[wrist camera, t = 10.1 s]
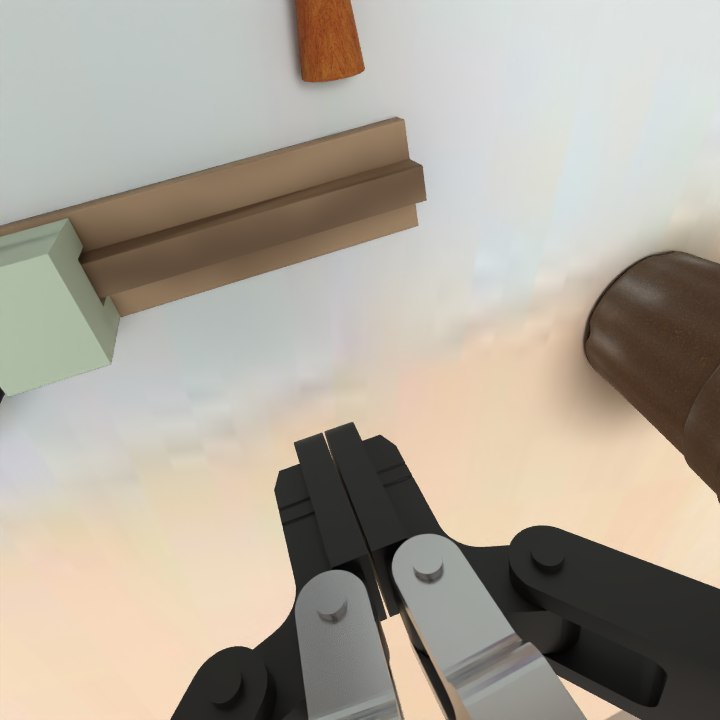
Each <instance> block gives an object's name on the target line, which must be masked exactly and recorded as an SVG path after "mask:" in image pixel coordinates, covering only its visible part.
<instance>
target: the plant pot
mask: <svg viewBox="0 0 720 720" xmlns="http://www.w3.org/2000/svg"><path fill="white" fill-rule="evenodd" d="M589 323H590V335H589V338H588V340H587V341H586V342H585V348H586V354H587V358H588V360H589V362H590V363H591V365H592V367H593V368H594V369H595V370H596V371H597V372H598V373H599V374H600V375H601V376H602V377H603V378H604V379H605V380H606V381H608V382H609V383H610V384H611V385H612V386H613V387H614V388H615V389H616V390H617V391H618V392H619V393H620V394H621V395H623V396H624V397H625V398H626V399H627V400H628V401H629V402H630V403H631V404H632V405H633V406H634V407H635V408H636V409H637V410H638V411H639V412H640V413H641V414H642V415H643V416H644V417H645V418H646V419H647V420H648V421H649V422H650V423H651V424H652V425H653V426H654V427H655V428H656V429H657V430H658V431H659V432H660V433H661V434H662V435H663V436H664V437H665V438H666V439H667V440H668V441H669V442H671V443H672V444H673V445H674V446H675V447H676V448H677V449H678V450H679V451H680V452H681V453H682V454H683V455H684V457H685V460H686V462H687V464H688V465H689V467H690V468H691V469H692V470H693V471H694V472H695V473H696V474H697V475H698V476H699V477H700V478H701V479H702V480H703V481H704V482H705V483H706V484H707V485H708V486H709V487H710V488H711V489H712V490H713V491H714V492H715V493H716V494H717V498H718V501H719V503H720V264H718V263H715V262H712V261H709V260H706V259H703V258H700V257H697V256H694V255H691V254H688V253H685V252H678V251H673V252H671V254H665V255H659V256H651V257H648V258H646V259H644V260H643V261H641V262H639V263H638V264H636V265H634V266H633V267H632V268H630V269H629V270H628V271H626V272H625V273H624V274H623V275H622V276H621V277H620V278H619V279H618V280H616V282H615V283H614V284H613V285H612V286H611V287H610V288H609V289H608V291H607V292H606V293H605V295H604V296H603V297H602V299H601V300H600V302H599V303H598V305H597V307H596V308H595V310H594V312H593V314H592V316H591V319H590V322H589Z"/></svg>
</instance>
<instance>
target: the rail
mask: <svg viewBox="0 0 720 720" xmlns="http://www.w3.org/2000/svg"><path fill="white" fill-rule="evenodd" d="M426 200H427V199H426V191H425V183H424V174H423V166H422V165H420V164H418V163H416V162H414V161H412V160H410V159H409V152H408V145H407V137H406V130H405V122H404V119H401V118H398V117H395V118H392V119H388V120H384V121H381V122H377V123H374V124H370V125H366V126H363V127H359V128H355V129H352V130H348V131H344V132H341V133H337V134H333V135H330V136H326V137H323V138H319V139H315V140H312V141H308V142H304V143H301V144H297V145H293V146H290V147H286V148H282V149H279V150H275V151H272V152H268V153H264V154H261V155H257V156H253V157H250V158H246V159H242V160H239V161H235V162H231V163H228V164H224V165H221V166H217V167H213V168H210V169H206V170H202V171H199V172H195V173H191V174H188V175H184V176H180V177H177V178H173V179H170V180H166V181H162V182H159V183H155V184H151V185H148V186H144V187H140V188H137V189H133V190H129V191H126V192H122V193H119V194H115V195H111V196H108V197H104V198H100V199H97V200H93V201H89V202H86V203H82V204H78V205H75V206H71V207H68V208H64V209H60V210H57V211H53V212H49V213H46V214H42V215H38V216H35V217H31V218H27V219H24V220H20V221H16V222H13V223H9V224H6V225H2V226H0V237H1V236H5V235H9V234H12V233H16V232H19V231H23V230H27V229H30V228H34V227H37V226H41V225H45V224H48V223H52V222H55V221H59V220H63V219H66V218H69V220H70V222H71V224H72V226H73V228H74V230H75V232H76V234H77V235H78V237H79V239H80V241H81V243H82V245H83V248H82V251H81V253H80V255H79V258H78V261H79V263H80V264H81V266H82V268H83V270H84V272H85V274H86V275H87V277H88V279H89V281H90V283H91V285H92V286H93V288H94V290H95V292H96V294H97V296H98V297H99V299H100V298H103V297H107V296H110V298H111V300H112V302H113V303H114V305H115V307H116V309H117V311H118V313H119V315H120V317H123V316H126V315H130V314H133V313H136V312H139V311H143V310H146V309H149V308H152V307H156V306H159V305H162V304H165V303H169V302H172V301H175V300H178V299H182V298H185V297H188V296H191V295H195V294H198V293H201V292H204V291H208V290H211V289H214V288H217V287H221V286H224V285H227V284H230V283H234V282H237V281H240V280H243V279H247V278H250V277H253V276H256V275H260V274H263V273H266V272H269V271H273V270H276V269H279V268H282V267H286V266H289V265H292V264H295V263H299V262H302V261H305V260H308V259H312V258H315V257H318V256H321V255H325V254H328V253H331V252H334V251H338V250H341V249H344V248H347V247H351V246H354V245H357V244H360V243H364V242H367V241H370V240H373V239H377V238H380V237H383V236H386V235H390V234H393V233H396V232H399V231H403V230H406V229H409V228H412V227H416V226H418V220H417V212H416V205H415V204H416V203H419V202H422V201H426Z"/></svg>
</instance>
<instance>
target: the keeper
mask: <svg viewBox="0 0 720 720" xmlns="http://www.w3.org/2000/svg"><path fill="white" fill-rule="evenodd" d="M82 248H83V245H82V243H81V241H80V239H79V237H78V235H77V234H76V232H75V230H74V228H73V226H72V224H71V222H70V220H69V218H66V219H63V220H59V221H55V222H52V223H48V224H45V225H41V226H37V227H34V228H30V229H27V230H23V231H19V232H16V233H12V234H9V235H5V236H1V237H0V387H1V389H2V390H3V391H4V393H5V394H6V395H7V397H10V396H13V395H16V394H19V393H22V392H26V391H29V390H32V389H35V388H38V387H41V386H44V385H48V384H51V383H54V382H57V381H60V380H63V379H66V378H69V377H73V376H76V375H79V374H82V373H85V372H88V371H91V370H95V369H98V368H101V367H104V366H107V365H110V364H111V362H112V357H113V352H114V346H115V341H116V336H117V331H118V325H119V320H120V315H119V313H118V311H117V309H116V307H115V305H114V303H113V302H112V300H111V298H110V296H107V297H103V298H100V299H99V297H98V296H97V294H96V292H95V290H94V288H93V286H92V285H91V283H90V281H89V279H88V277H87V275H86V274H85V272H84V270H83V268H82V266H81V264H80V263H79V261H78V258H79V255H80V253H81V251H82Z"/></svg>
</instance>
